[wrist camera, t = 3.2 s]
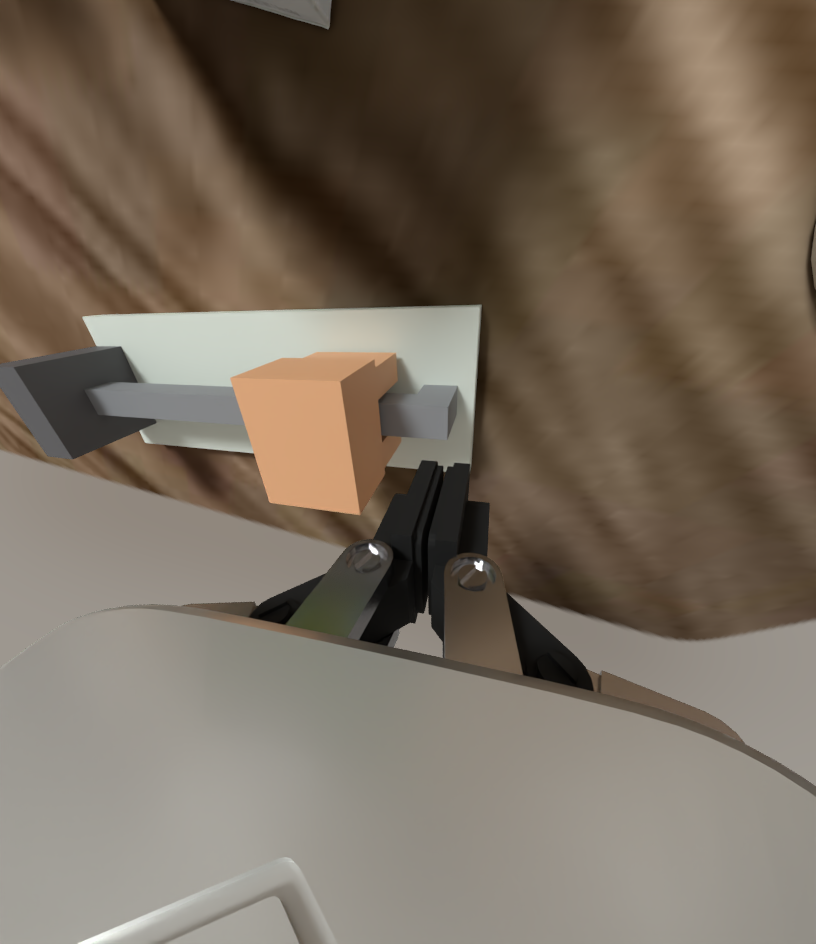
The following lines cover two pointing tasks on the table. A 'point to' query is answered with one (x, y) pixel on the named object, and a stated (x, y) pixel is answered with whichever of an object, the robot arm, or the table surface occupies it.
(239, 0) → the tea box
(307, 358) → the slider
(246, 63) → the table surface
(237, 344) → the rail track
